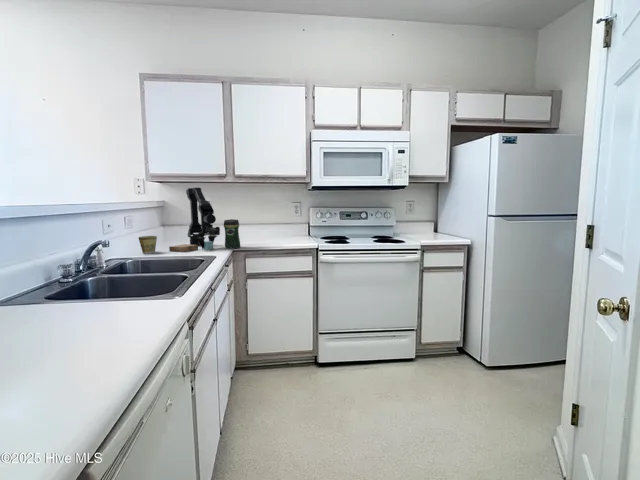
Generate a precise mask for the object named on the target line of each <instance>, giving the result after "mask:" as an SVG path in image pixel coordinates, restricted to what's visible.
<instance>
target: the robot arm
mask: <svg viewBox="0 0 640 480" xmlns="http://www.w3.org/2000/svg"><path fill="white" fill-rule="evenodd" d="M185 192H186V193H185V194H186V197H187V199H188V200H189V204H190V206H189V207H190V219H191V221H190V224H189V226H188V231H187V237H188V238H189V245H198V247H199V246H201V249H202V248H204V241H205V239H206V236H207V237H208V241H213V243H214V241H215V239H216V238H217V237H218V236H220V234H221V229H220V226H214V227H213V224H214V223H215V222H216V219H217V218H216V216H215V211H214V209H213V208H214V207H213V206H212V204H211V203H210V201H208V200H206V197H205V196H204V194H203V191H202V188H201V187H200V186H199V187H188V188H187V189H186V190H185ZM199 213H200V222H199Z"/></svg>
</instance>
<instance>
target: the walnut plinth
mask: <svg viewBox="0 0 640 480" xmlns="http://www.w3.org/2000/svg"><path fill="white" fill-rule="evenodd" d="M168 249H169V250H168V251H169V252H173V253H175V252H176V253H187V252H192V251H197V250H199V246H198V245H190V244H186V243H183V244H178V245H172V246H171V245H170V246H169V247H168Z"/></svg>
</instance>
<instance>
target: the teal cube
mask: <svg viewBox="0 0 640 480" xmlns="http://www.w3.org/2000/svg"><path fill="white" fill-rule="evenodd" d="M213 249H214V242H213V241H209V240H204V248H202V247H201V250H206V251H209V250H213Z"/></svg>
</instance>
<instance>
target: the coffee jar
mask: <svg viewBox="0 0 640 480" xmlns="http://www.w3.org/2000/svg"><path fill="white" fill-rule="evenodd" d="M223 228H224V248H225V249H237V248H240V247H241V241H240V234H239V233H240V232H239V228H240V222H239V220H238V219H233V218H232V219H224V221H223Z"/></svg>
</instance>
